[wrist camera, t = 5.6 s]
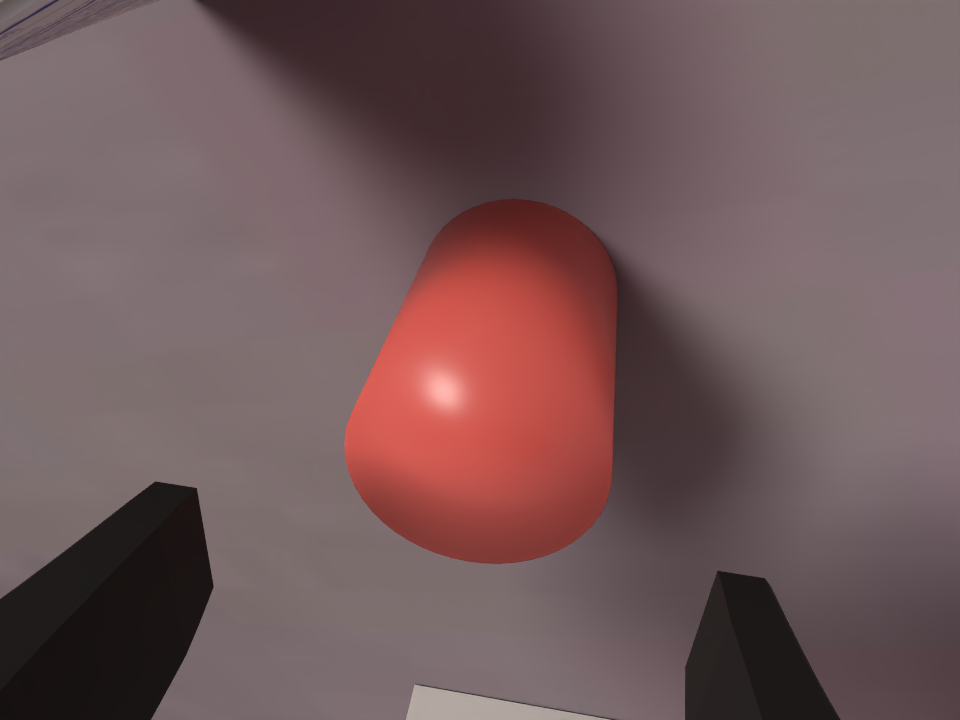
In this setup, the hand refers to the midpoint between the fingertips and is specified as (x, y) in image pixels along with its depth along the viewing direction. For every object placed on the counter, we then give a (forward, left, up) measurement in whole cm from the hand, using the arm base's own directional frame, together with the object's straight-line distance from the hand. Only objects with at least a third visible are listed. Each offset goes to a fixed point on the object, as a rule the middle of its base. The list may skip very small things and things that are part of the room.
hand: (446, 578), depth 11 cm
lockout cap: (0, 0, -8) cm, 8 cm away
